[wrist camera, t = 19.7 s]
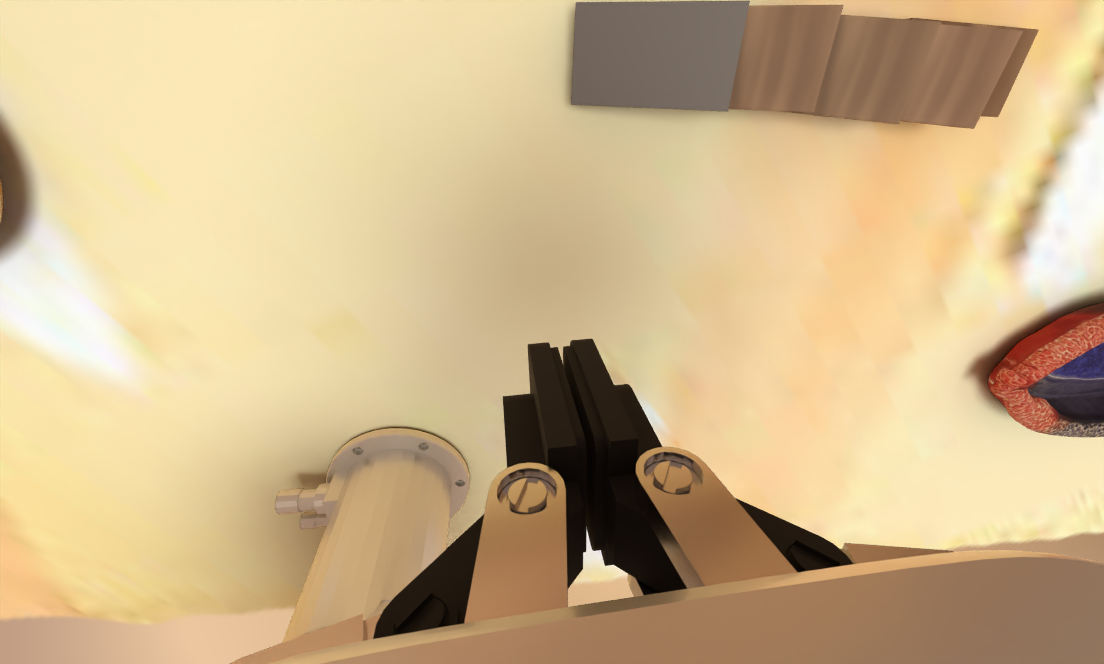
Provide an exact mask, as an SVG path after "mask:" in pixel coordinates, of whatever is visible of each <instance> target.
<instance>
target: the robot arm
mask: <svg viewBox="0 0 1104 664" xmlns="http://www.w3.org/2000/svg"><path fill="white" fill-rule="evenodd" d="M528 360H529V377H530V394H523V395H513V396H503V406H504V422H505V438H506V454H507V469H505V470H504V471H502V472H501V473H499V474H498V475H497V476H496V478H495V479H494V480H493V481H492V483H491V486H490V489H489V492H488V497H487V503H486V508H485V514H484V515H483V516H482V517H481V518H479V519H478V520H477V521H476V522H475V523H474V524H473V525H472V526H471V527H470V528H469V529H468V530H466V531H465V532H464V533H463V534H462V535H461V536H460V537H459V538H458V539H457V540H456V541H455V542H454V543H452V544H451V545H450V546H449V547H448V548H447V549H446V543H447V533H448V523H449V518H451V517H452V516H453V515H454V514H455V513H457V512H458V511H459V510H460V508H461V507H462V505H463V504H464V502H465V500H466V497H467V495H468V489H469V472H468V468H467V465H466V463H465V461H464V460H463V458H462V456H461V455H460V454H459V453H458V452H457V451H456V450H455V448H454V447H452V446H451V445H450V444H448V443H447V442H445V441H444V440H442V439H440V438H438V437H436V436H434V435H432V434H429V433H425V432H422V431H419V430H412V429H406V428H388V429H381V430H375V431H372V432H368V433H365V434H362V435H360V436H358V437H356V438H354V439H352V440H351V441H349V442H348V443H347V444H345V445H344V446H343V447H342V448H341V449H340V450H339V451H338V452H337V453H336V455H335V456H334V458H333V460H332V462H331V464H330V466H329V469H328V472H327V475H326V483H322V484H320V485H319V486H318V487H317V489H308V490H305V489H303V488H302V489H289V490H281V491H280V492H279V493H278V495H277V497H276V501H275V509H276V512H277V513H278V514H287V513H299V512H303V511H308V510H315V512H304V513H302V515H301V517H300V528H301V529H308V528H317V527H322V526H326V529H325V532H324V534H323V537H322V539H321V542H320V545H319V547H318V550H317V553H316V555H315V558H314V561H313V563H312V566H311V569H310V571H309V574H308V576H307V579H306V582H305V584H304V587H303V590H302V592H301V595H300V598H299V600H298V603H297V606H296V608H295V611H294V613H293V616H292V619H291V622H290V624H289V627H288V629H287V632H286V635H285V637H284V640H283V642H282V643H281V644H278V645H275V646H273V647H270V648H267V649H264V650H262V651H259V652H256V653H254V654H251V655H248V656H245V657H243V658H240V659H238V660H236V661H234V662H232V663H230V664H1104V563H1102V562H1098V561H1093V560H1087V559H1082V558H1077V557H1071V556H1065V555H1060V554H1052V553H1039V552H1028V551H1017V550H995V551H994V550H989V551H987V550H986V551H984V550H982V551H964V552H953V551H948V550H934V549H920V548H907V547H893V546H879V545H865V544H852V543H844V546H843V548H842V549H839V548H838V547H837V546H835V545H834V544H833V543H831V542H829V541H827V540H826V539H824V538H822V537H820V536H818V535H816V534H814V533H812V532H809V531H807V530H805V529H803V528H800V527H798V526H796V525H794V524H792V523H789V522H787V521H785V520H783V519H780V518H778V517H776V516H774V515H772V514H769V513H767V512H765V511H763V510H760V509H758V508H756V507H754V506H752V505H749V504H747V503H745V502H743V501H740V500H738V499H736V498H734V497H733V495H732V494H731V493H730V492H729V491H728V490H727V488H726V487H725V486H724V485H723V484H722V482H721V481H720V480H719V479H718V478H717V476H716V475H715V474H714V473H713V472H712V471H711V469H710V468H709V467H708V466H707V465H706V464H705V463H704V462H703V461H702V460H701V459H700V458H699V457H698V456H696V455H694V454H692V453H690V452H688V451H685V450H682V449H679V448H673V447H662V445H661V443H660V441H659V440H658V438H657V436H656V434H655V432H654V430H653V428H652V426H651V424H650V422H649V420H648V419H647V417H646V415H645V413H644V411H643V409H642V407H641V405H640V403H639V401H638V399H637V398H636V396H635V394H634V392H633V390H632V388H631V387H630V385H628V384H624V385H614V384H613V382H612V380H611V378H610V375H609V373H608V371H607V369H606V367H605V365H604V363H603V360H602V358H601V356H600V354H599V352H598V350H597V348H596V345H595V343H594V341H593V339H583V340H572V341H571V342H570V346H565V347H563V363H562V360H561V357H560V353H559V350H558V347H554V348H550V344H549V343H537V344H528ZM586 527H587V531H588V535H589V539H590V543H591V547H592V550H593V551H596V550H601V552H602V556H603V560H604V564H605V566H607V565H615V566H617V567H618V568H620V569H622V570H623V571H625V572H626V573H628V582H629V585H630V589H631V591H632V593H633V595H634V597H631V598H624V599H618V600H611V601H605V602H598V603H591V604H585V605H579V606H572V607H568V588H569V587H570V585H571V584H572V583H573V581H574V580H575V579H576V577H577V576H578V575H579V573H580V572H581V571H582V569H583V552H586Z"/></svg>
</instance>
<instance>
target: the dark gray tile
mask: <svg viewBox="0 0 1104 664" xmlns="http://www.w3.org/2000/svg"><path fill="white" fill-rule="evenodd" d="M749 2H750V1H679V2H576V12H575V33H574V55H573V76H572V98H571V105H593V106H616V107H639V108H662V109H685V110H708V111H728V109H729V104H730V99H731V93H732V88H733V83H734V78H735V73H736V68H737V63H738V58H739V53H740V48H741V43H742V38H743V33H744V28H745V23H746V18H747V12H748V7H749Z"/></svg>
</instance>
